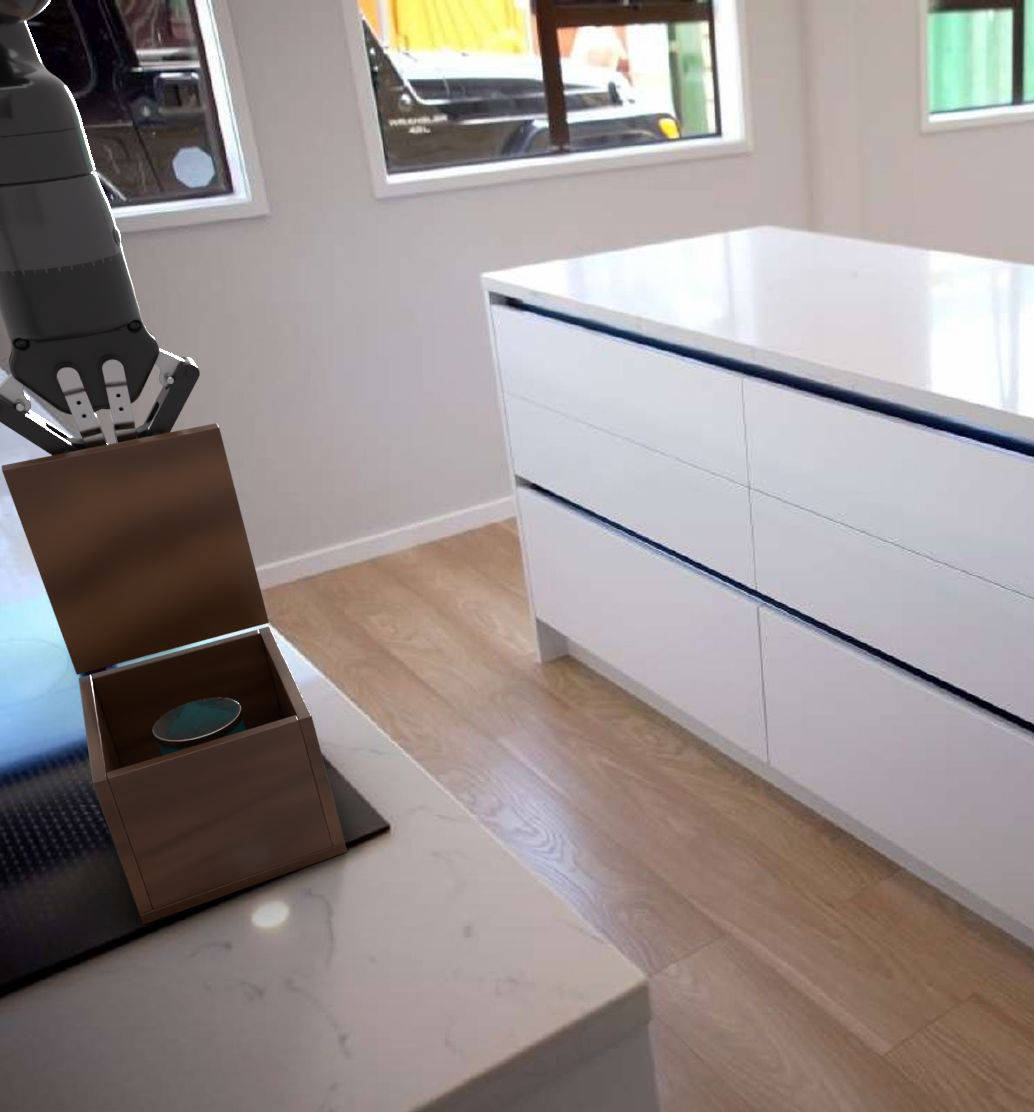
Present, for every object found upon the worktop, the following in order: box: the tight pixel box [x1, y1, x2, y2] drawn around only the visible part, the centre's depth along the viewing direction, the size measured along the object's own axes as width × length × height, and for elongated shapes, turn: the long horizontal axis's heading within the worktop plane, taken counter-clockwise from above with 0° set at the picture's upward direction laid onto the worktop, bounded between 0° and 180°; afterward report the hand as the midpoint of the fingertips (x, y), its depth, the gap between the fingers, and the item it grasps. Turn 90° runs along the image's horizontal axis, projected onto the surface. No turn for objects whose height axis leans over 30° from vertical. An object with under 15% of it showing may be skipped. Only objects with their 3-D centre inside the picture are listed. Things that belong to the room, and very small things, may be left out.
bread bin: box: [78, 625, 348, 925], centre depth 87 cm, size 16×13×11 cm
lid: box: [0, 422, 270, 675], centre depth 86 cm, size 16×13×1 cm
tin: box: [153, 698, 246, 756], centre depth 86 cm, size 5×5×9 cm
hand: (132, 510), depth 86 cm, fingers closed
